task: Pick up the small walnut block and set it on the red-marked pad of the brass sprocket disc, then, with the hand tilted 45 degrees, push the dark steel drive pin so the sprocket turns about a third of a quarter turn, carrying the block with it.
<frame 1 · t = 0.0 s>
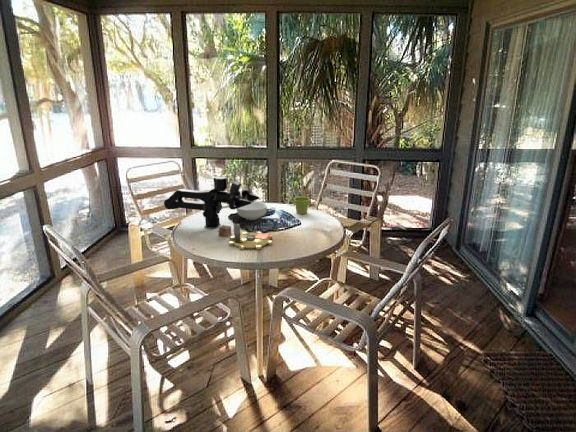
hand: (255, 200, 194), 17 cm above the table, tool horizontal, fingers open, 9 cm apart
block: (225, 235, 195), on the table
sprocket: (250, 231, 184), point 5 cm above the table, hinge at 0.0°
cereal bowl: (252, 218, 221), on the table
plant pot: (301, 213, 229), on the table
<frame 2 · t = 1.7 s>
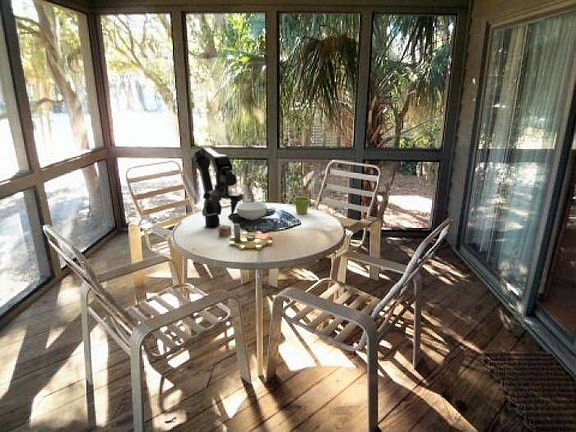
hand: (224, 213, 191), 11 cm above the table, tool pointing down, fingers open, 9 cm apart
nothing on the table moved.
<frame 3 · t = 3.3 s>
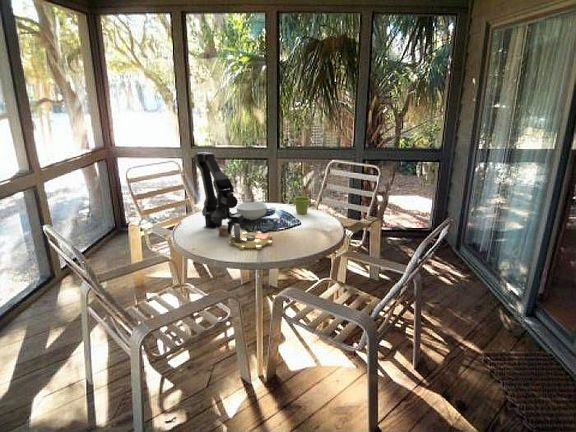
hand: (225, 233, 194), 1 cm above the table, tool pointing down, fingers closed on block, 4 cm apart
block: (225, 235, 195), on the table, touching gripper
everything else where it was.
when the fingers open (4 cm above the table, at t = 6.9 s): block drops 1 cm, resting on sprocket.
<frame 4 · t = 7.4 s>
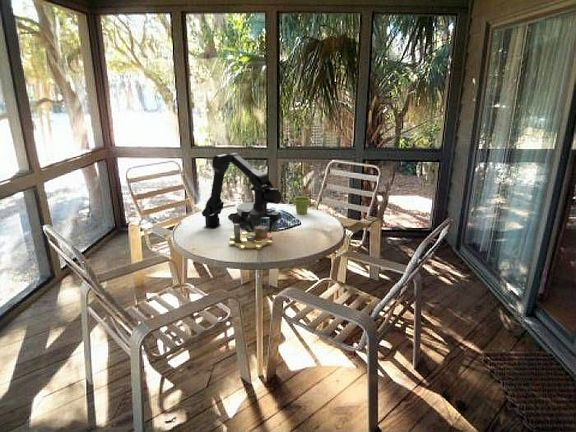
hand: (261, 231, 188), 4 cm above the table, tool pointing down, fingers open, 9 cm apart
block: (261, 236, 188), point 2 cm above the table, touching sprocket
sprocket: (250, 231, 184), point 5 cm above the table, hinge at 0.0°, touching block
everything else where it was.
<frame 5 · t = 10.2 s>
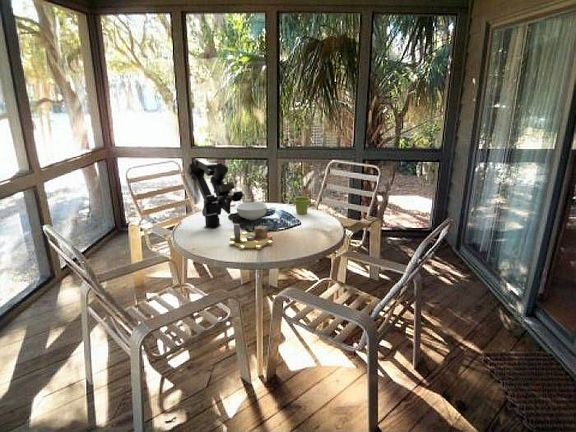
hand: (229, 213, 185), 13 cm above the table, tool tilted 45°, fingers closed
nothing on the table moved.
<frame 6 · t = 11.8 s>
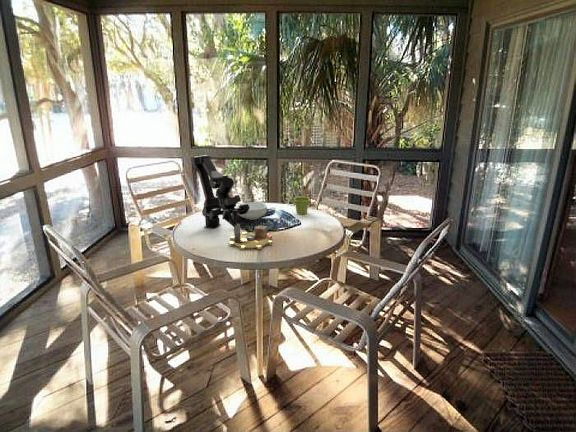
hand: (235, 227, 181), 8 cm above the table, tool tilted 45°, fingers closed, pressing on sprocket
sprocket: (250, 231, 184), point 5 cm above the table, hinge at 1.2°, touching block, gripper
everything else where it was.
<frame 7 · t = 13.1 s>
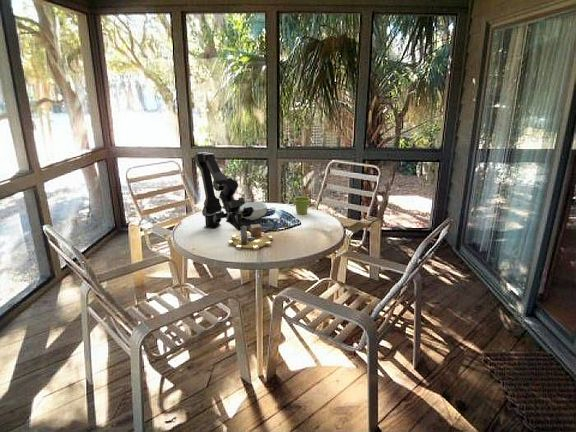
hand: (239, 230, 178), 8 cm above the table, tool tilted 45°, fingers closed
block: (256, 234, 190), point 2 cm above the table, touching sprocket
sprocket: (250, 231, 184), point 5 cm above the table, hinge at 36.7°, touching block
everything else where it was.
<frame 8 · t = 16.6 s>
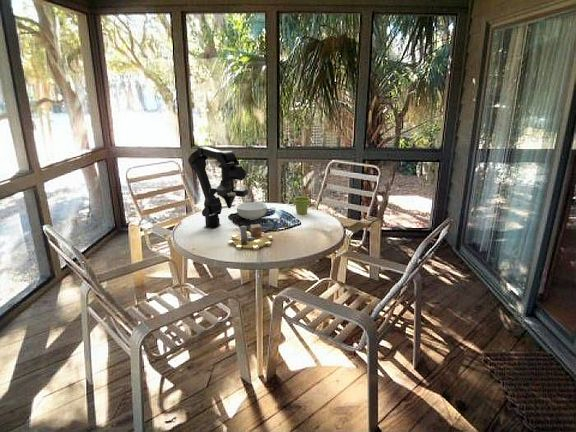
hand: (229, 208, 194), 13 cm above the table, tool pointing down, fingers closed
nothing on the table moved.
at the end: sprocket at +37° (first picture: +0°); block touching sprocket; block tilted 0° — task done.
